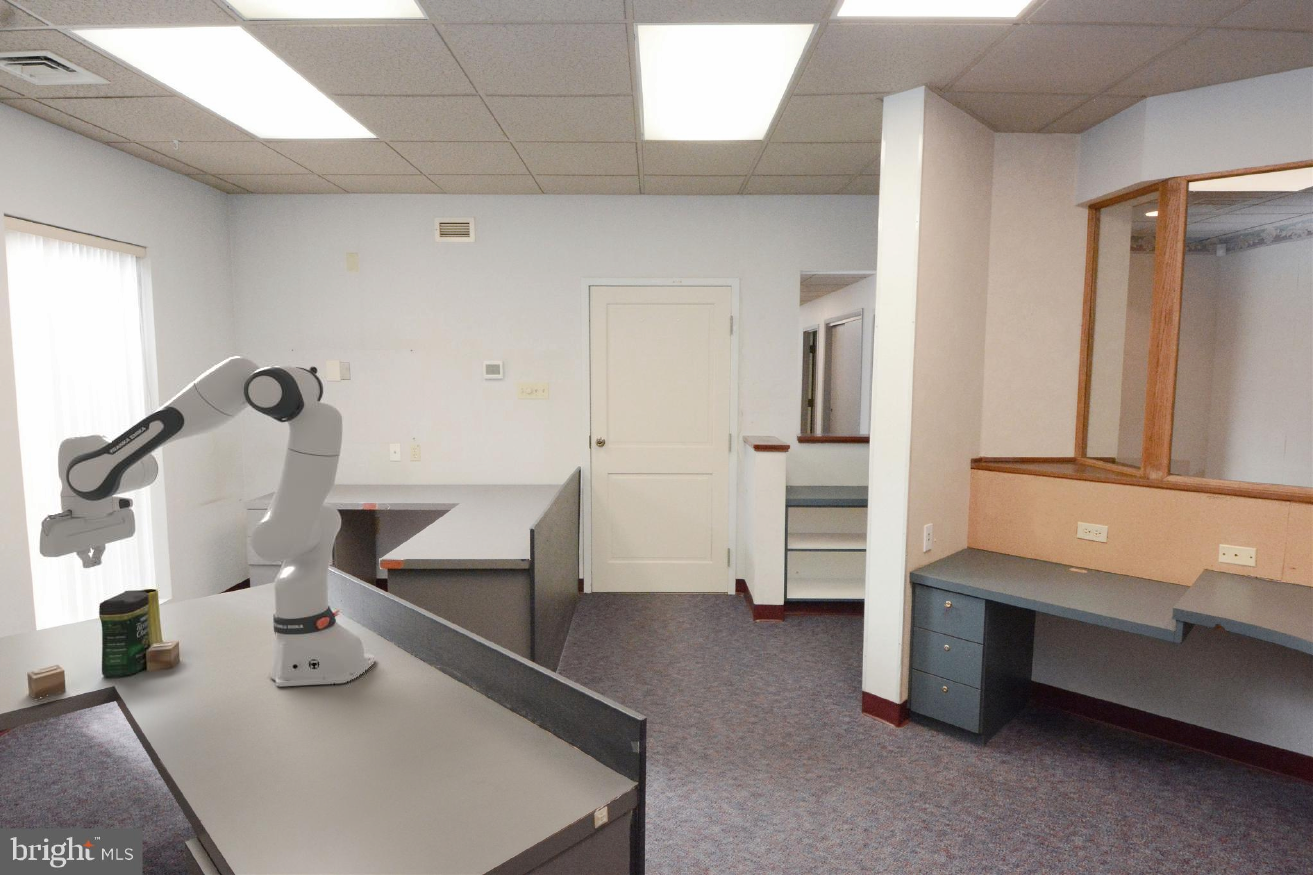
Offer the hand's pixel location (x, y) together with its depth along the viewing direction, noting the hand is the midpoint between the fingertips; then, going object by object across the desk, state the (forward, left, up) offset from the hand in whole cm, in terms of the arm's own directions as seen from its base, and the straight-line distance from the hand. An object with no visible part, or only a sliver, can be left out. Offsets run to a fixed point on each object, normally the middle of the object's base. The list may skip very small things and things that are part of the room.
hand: (92, 566), depth 148 cm
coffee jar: (-3, -5, -27) cm, 27 cm away
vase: (+5, -19, -27) cm, 33 cm away
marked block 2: (-9, -8, -27) cm, 29 cm away
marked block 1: (+5, +7, -27) cm, 28 cm away
